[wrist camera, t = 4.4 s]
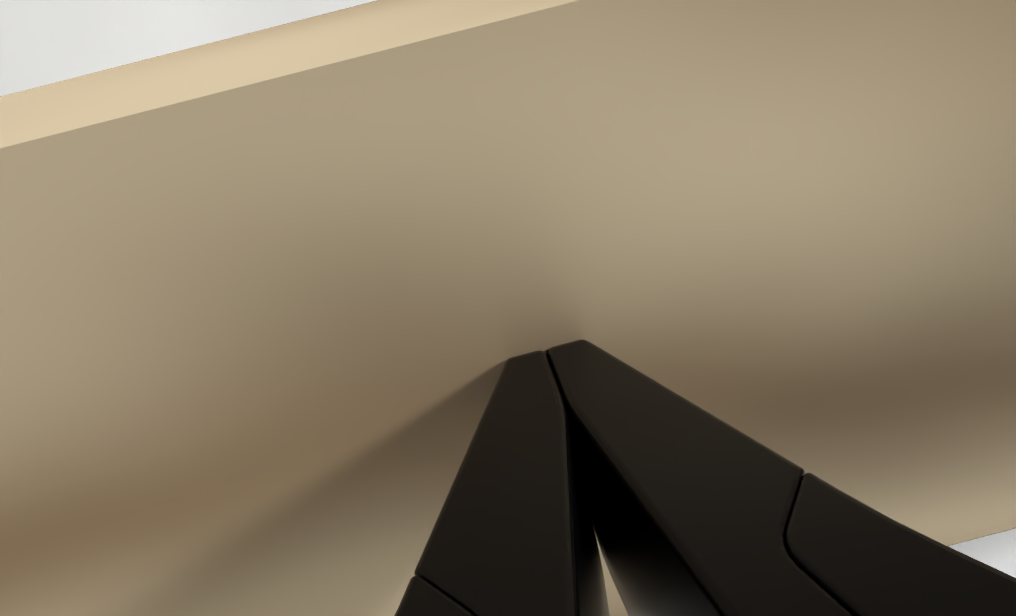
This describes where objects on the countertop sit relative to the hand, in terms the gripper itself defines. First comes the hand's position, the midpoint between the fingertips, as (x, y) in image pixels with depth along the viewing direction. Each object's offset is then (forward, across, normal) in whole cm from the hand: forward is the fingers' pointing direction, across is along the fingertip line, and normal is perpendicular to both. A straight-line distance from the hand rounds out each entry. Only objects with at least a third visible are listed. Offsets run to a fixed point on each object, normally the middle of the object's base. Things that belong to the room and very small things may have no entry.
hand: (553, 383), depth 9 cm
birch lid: (+1, 0, +1) cm, 1 cm away
